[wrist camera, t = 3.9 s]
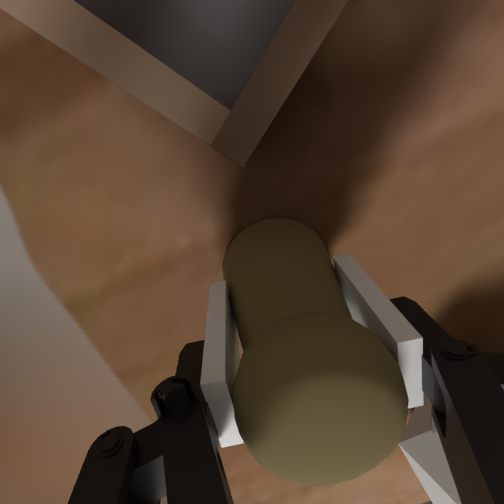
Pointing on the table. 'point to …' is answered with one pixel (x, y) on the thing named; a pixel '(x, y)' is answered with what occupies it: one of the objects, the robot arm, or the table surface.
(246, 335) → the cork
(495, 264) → the table surface
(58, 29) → the wooden tray
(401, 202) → the table surface
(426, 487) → the die
